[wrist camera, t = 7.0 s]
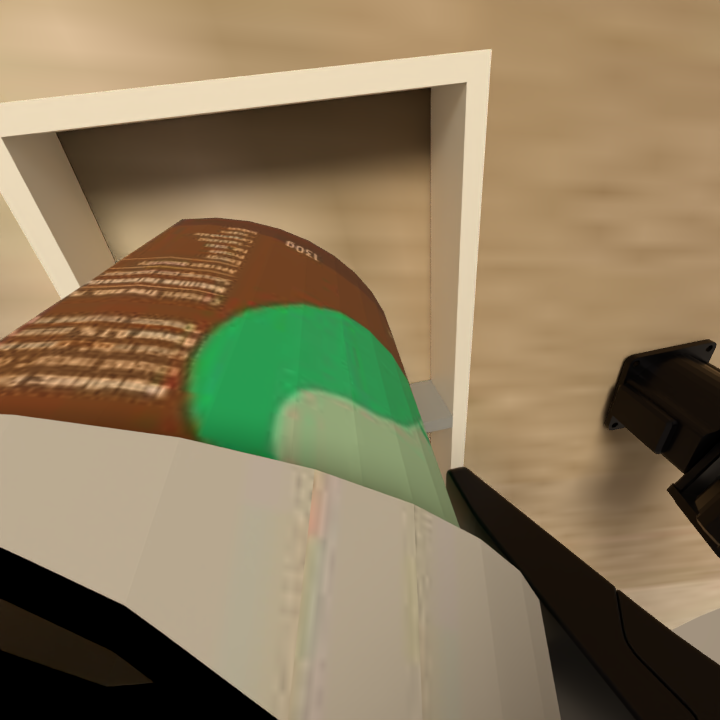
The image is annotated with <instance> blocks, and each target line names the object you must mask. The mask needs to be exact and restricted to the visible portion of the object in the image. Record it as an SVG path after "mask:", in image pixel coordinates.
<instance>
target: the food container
mask: <svg viewBox="0 0 720 720" xmlns="http://www.w3.org/2000/svg"><path fill="white" fill-rule="evenodd" d="M0 720H561V717H560V712H559V706H558V701H557V695H556V690H555V684H554V679H553V673H552V668H551V662H550V657H549V651H548V646H547V640H546V635H545V630H544V624H543V619H542V613H541V608H540V602H539V599H538V598H537V596H536V595H535V593H534V592H533V590H532V589H531V587H530V586H529V584H528V583H527V581H526V580H525V578H524V576H523V575H522V573H521V572H520V571H519V570H518V569H517V568H515V567H514V566H513V565H512V564H510V563H509V562H508V561H507V560H506V559H504V558H503V557H502V556H501V555H499V554H498V553H497V552H496V551H495V550H493V549H492V548H491V547H490V546H488V545H487V544H486V543H485V542H483V541H482V540H481V539H479V538H478V537H476V536H474V535H472V534H470V533H468V532H466V531H464V530H462V529H460V527H459V524H458V521H457V518H456V515H455V512H454V510H453V507H452V504H451V501H450V498H449V495H448V492H447V490H446V487H445V484H444V481H443V478H442V475H441V473H440V470H439V467H438V464H437V461H436V458H435V456H434V453H433V450H432V447H431V444H430V441H429V438H428V436H427V433H426V430H425V427H424V424H423V421H422V419H421V416H420V413H419V410H418V407H417V404H416V401H415V399H414V396H413V393H412V390H411V387H410V384H409V382H408V379H407V376H406V373H405V370H404V367H403V364H402V362H401V359H400V356H399V353H398V350H397V347H396V345H395V342H394V339H393V336H392V333H391V330H390V328H389V325H388V322H387V320H386V317H385V314H384V312H383V310H382V308H381V307H380V305H379V303H378V302H377V300H376V298H375V297H374V295H373V293H372V292H371V291H370V289H369V288H368V287H367V286H366V285H365V284H364V283H363V282H362V280H361V279H360V278H359V277H358V276H357V275H356V274H355V273H354V272H353V271H352V270H351V269H350V268H348V267H347V266H346V265H345V264H343V263H342V262H341V261H340V260H339V259H337V258H336V257H335V256H334V255H332V254H330V253H328V252H327V251H325V250H323V249H322V248H320V247H318V246H317V245H315V244H313V243H312V242H310V241H308V240H306V239H303V238H301V237H298V236H296V235H293V234H291V233H288V232H286V231H284V230H281V229H278V228H274V227H270V226H266V225H262V224H258V223H254V222H250V221H242V220H233V219H223V218H203V219H182V220H180V221H179V222H177V223H176V224H174V225H173V226H171V227H170V228H168V229H167V230H165V231H164V232H162V233H161V234H159V235H158V236H156V237H155V238H153V239H152V240H150V241H149V242H147V243H146V244H144V245H143V246H141V247H140V248H138V249H137V250H135V251H134V252H132V253H131V254H129V255H128V256H126V257H125V258H123V259H122V260H120V261H119V262H117V263H116V264H114V265H113V266H111V267H110V268H108V269H107V270H105V271H104V272H102V273H101V274H99V275H98V276H96V277H95V278H93V279H92V280H90V281H89V282H87V283H86V284H84V285H83V286H81V287H80V288H78V289H77V290H75V291H74V292H72V293H71V294H69V295H68V296H66V297H65V298H63V299H62V300H60V301H58V302H57V303H55V304H54V305H52V306H51V307H49V308H48V309H46V310H45V311H43V312H42V313H40V314H39V315H37V316H36V317H34V318H33V319H31V320H30V321H28V322H27V323H25V324H24V325H22V326H21V327H19V328H18V329H16V330H15V331H13V332H12V333H10V334H9V335H7V336H6V337H4V338H3V339H1V340H0Z"/></svg>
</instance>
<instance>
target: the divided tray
mask: <svg viewBox="0 0 720 720" xmlns="http://www.w3.org/2000/svg"><path fill="white" fill-rule="evenodd" d="M491 51H492V49H487V50H478V51H469V52H459V53H450V54H441V55H432V56H423V57H414V58H405V59H396V60H386V61H377V62H368V63H359V64H350V65H341V66H332V67H322V68H313V69H304V70H295V71H286V72H277V73H268V74H259V75H249V76H240V77H231V78H222V79H213V80H204V81H195V82H186V83H176V84H167V85H158V86H149V87H140V88H131V89H122V90H113V91H103V92H94V93H85V94H76V95H67V96H58V97H49V98H40V99H30V100H21V101H12V102H3V103H0V192H1V194H2V196H3V197H4V199H5V201H6V203H7V204H8V206H9V208H10V210H11V212H12V213H13V215H14V217H15V219H16V220H17V222H18V224H19V226H20V227H21V229H22V231H23V233H24V234H25V236H26V238H27V240H28V241H29V243H30V245H31V247H32V248H33V250H34V252H35V254H36V255H37V257H38V259H39V261H40V262H41V264H42V266H43V268H44V269H45V271H46V273H47V275H48V276H49V278H50V280H51V282H52V284H53V285H54V287H55V289H56V291H57V292H58V294H59V296H60V298H61V299H63V298H65V297H66V296H68V295H69V294H71V293H72V292H74V291H75V290H77V289H78V288H80V287H81V286H83V285H84V284H86V283H87V282H89V281H90V280H92V279H93V278H95V277H96V276H98V275H99V274H101V273H102V272H104V271H105V270H107V269H108V268H110V267H111V266H113V265H114V264H116V263H115V261H114V258H113V256H112V254H111V252H110V250H109V248H108V245H107V243H106V241H105V239H104V237H103V234H102V232H101V230H100V228H99V226H98V224H97V221H96V219H95V217H94V215H93V213H92V211H91V208H90V206H89V204H88V202H87V200H86V198H85V195H84V193H83V191H82V189H81V187H80V185H79V182H78V180H77V178H76V176H75V174H74V171H73V169H72V167H71V165H70V163H69V161H68V158H67V156H66V154H65V152H64V150H63V148H62V145H61V143H60V141H59V139H58V137H57V135H56V132H62V131H71V130H79V129H88V128H96V127H105V126H113V125H121V124H130V123H138V122H147V121H155V120H164V119H172V118H180V117H189V116H197V115H206V114H214V113H223V112H231V111H239V110H248V109H256V108H265V107H273V106H281V105H290V104H298V103H307V102H315V101H324V100H332V99H340V98H349V97H357V96H366V95H374V94H383V93H391V92H399V91H408V90H416V89H425V88H431V380H427V381H422V382H417V383H412V384H410V387H411V390H412V393H413V396H414V399H415V401H416V404H417V407H418V410H419V413H420V416H421V419H422V421H423V424H424V427H425V430H426V433H429V432H431V447H432V450H433V453H434V456H435V458H436V461H437V464H438V467H439V470H440V473H441V475H442V478H443V481H444V484H445V487H446V473H447V471H448V470H449V469H453V468H458V467H463V465H464V450H465V436H466V421H467V406H468V391H469V376H470V362H471V347H472V332H473V317H474V302H475V288H476V273H477V258H478V243H479V229H480V214H481V199H482V184H483V169H484V155H485V140H486V125H487V110H488V95H489V81H490V66H491Z"/></svg>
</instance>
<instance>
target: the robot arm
mask: <svg viewBox="0 0 720 720" xmlns="http://www.w3.org/2000/svg"><path fill="white" fill-rule="evenodd" d="M715 348H716V343H715V342H713V341H711V340H709V339H706V340H702V341H697V342H692V343H687V344H682V345H677V346H673V347H668V348H663V349H658V350H653V351H648V352H644V353H639V354H634V355H631V356H630V357H628V358H627V359H626V361H625V364H624V367H623V370H622V373H621V376H620V379H619V382H618V385H617V388H616V391H615V394H614V397H613V400H612V403H611V406H610V409H609V412H608V415H607V418H606V421H605V426H606V427H607V428H608V429H609V430H615V429H619V428H624V427H626V428H627V429H628V430H629V431H630V432H632V433H633V434H634V435H635V436H636V437H637V438H638V439H640V440H641V441H642V442H643V443H644V444H645V445H646V446H647V447H649V448H650V449H651V450H652V451H653V452H654V453H656V454H662V455H663V456H664V457H665V458H666V459H668V460H669V461H670V462H671V463H672V464H673V465H674V466H676V467H677V468H678V469H679V470H680V471H681V472H682V473H684V475H683V476H682V477H681V478H680V479H679V480H678V481H677V482H676V483H675V484H674V483H673V484H672V485H671V486H670V487H669V488H668V489H667V491H668V492H669V494H670V495H671V496H672V497H673V499H674V500H675V502H676V504H677V505H678V506H679V508H680V509H681V510H682V511H683V513H684V514H685V515H686V517H687V518H688V519H689V520H690V522H691V523H692V524H693V526H694V527H695V528H696V529H697V531H698V532H699V533H700V534H701V536H702V537H703V538H704V540H705V541H706V542H707V543H708V545H709V546H710V547H711V549H712V550H713V551H714V552H715V554H716V555H717V556H718V557H719V558H720V369H719V368H717V367H715V366H713V365H712V364H710V363H709V361H710V358H711V356H712V354H713V352H714V350H715ZM446 490H447V492H448V495H449V498H450V501H451V504H452V507H453V510H454V512H455V515H456V518H457V521H458V524H459V527H460V529H462V530H464V531H466V532H468V533H470V534H472V535H474V536H476V537H478V538H479V539H481V540H482V541H483V542H485V543H486V544H487V545H488V546H490V547H491V548H492V549H493V550H495V551H496V552H497V553H498V554H499V555H501V556H502V557H503V558H504V559H506V560H507V561H508V562H509V563H510V564H512V565H513V566H514V567H515V568H517V569H518V570H519V571H520V572H521V573H522V575H523V576H524V578H525V580H526V581H527V583H528V584H529V586H530V587H531V589H532V590H533V592H534V593H535V595H536V596H537V598H538V599H539V602H540V608H541V613H542V619H543V624H544V630H545V635H546V640H547V646H548V651H549V657H550V662H551V668H552V673H553V679H554V684H555V690H556V695H557V701H558V706H559V712H560V717H561V720H720V665H719V664H717V663H716V662H714V661H713V660H711V659H710V658H709V657H707V656H706V655H704V654H703V653H701V652H700V651H699V650H697V649H696V648H695V647H693V646H691V645H690V644H689V643H687V642H686V641H685V640H683V639H682V638H681V637H679V636H678V635H676V634H675V633H674V632H672V631H671V630H670V629H668V628H667V627H666V626H665V625H663V624H662V623H661V622H659V621H658V620H657V619H655V618H654V617H653V616H652V615H650V614H649V613H648V612H646V611H645V610H644V609H642V608H641V607H640V606H639V605H637V604H636V603H635V602H634V601H632V600H631V599H630V598H629V597H627V596H626V595H625V594H624V593H622V592H621V591H620V590H616V588H615V586H614V585H612V584H611V583H610V582H609V581H607V580H606V579H605V578H604V577H602V576H601V575H600V574H599V573H597V572H596V571H595V570H594V569H592V568H591V567H590V566H589V565H587V564H586V563H585V562H584V561H582V560H581V559H580V558H579V557H577V556H576V555H575V554H574V553H572V552H571V551H570V550H569V549H567V548H566V547H565V546H564V545H562V544H561V543H560V542H559V541H557V540H556V539H555V538H554V537H552V536H551V535H550V534H549V533H547V532H546V531H545V530H544V529H542V528H541V527H540V526H539V525H537V524H536V523H535V522H534V521H532V520H531V519H530V518H529V517H527V516H526V515H525V514H524V513H522V512H521V511H520V510H519V509H517V508H516V507H515V506H514V505H512V504H511V503H510V502H509V501H507V500H506V499H505V498H504V497H502V496H501V495H500V494H499V493H497V492H496V491H495V490H494V489H492V488H491V487H490V486H489V485H487V484H486V483H485V482H484V481H482V480H481V479H480V478H479V477H477V476H476V475H475V474H474V473H472V472H471V471H470V470H469V469H467V468H466V467H458V468H453V469H449V470H448V471H447V473H446Z"/></svg>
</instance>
